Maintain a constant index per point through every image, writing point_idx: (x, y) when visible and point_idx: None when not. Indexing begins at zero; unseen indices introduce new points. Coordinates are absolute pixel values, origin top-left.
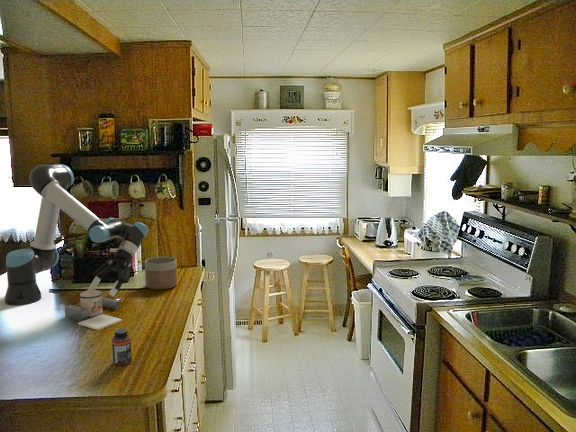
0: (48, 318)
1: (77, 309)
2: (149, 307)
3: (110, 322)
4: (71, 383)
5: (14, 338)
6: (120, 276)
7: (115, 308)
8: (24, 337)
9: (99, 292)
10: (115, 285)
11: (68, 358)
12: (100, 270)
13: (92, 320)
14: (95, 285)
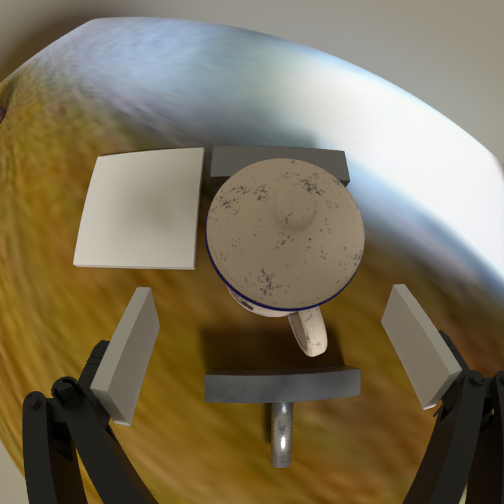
0: (363, 145)
1: (253, 152)
2: None
3: (89, 215)
4: (39, 62)
5: (272, 45)
6: (77, 440)
7: (214, 369)
8: (257, 52)
9: (230, 259)
10: (110, 350)
11: (77, 69)
12: (493, 438)
13: (169, 189)
14: (404, 347)
